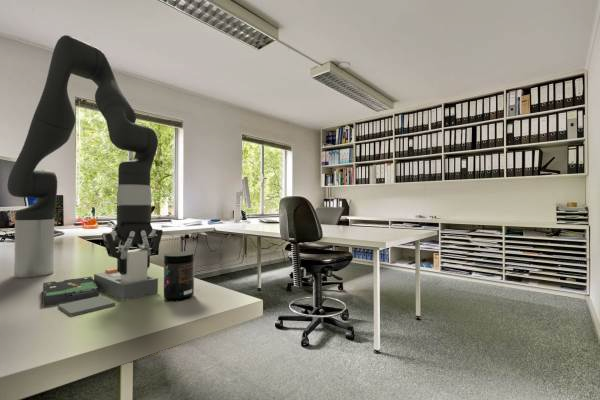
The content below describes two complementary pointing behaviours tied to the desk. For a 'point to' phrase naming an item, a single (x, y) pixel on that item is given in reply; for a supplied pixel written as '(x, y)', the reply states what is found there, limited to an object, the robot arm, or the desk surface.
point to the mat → (86, 305)
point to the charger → (135, 266)
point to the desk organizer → (124, 285)
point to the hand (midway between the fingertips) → (133, 271)
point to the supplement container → (178, 276)
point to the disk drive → (69, 290)
